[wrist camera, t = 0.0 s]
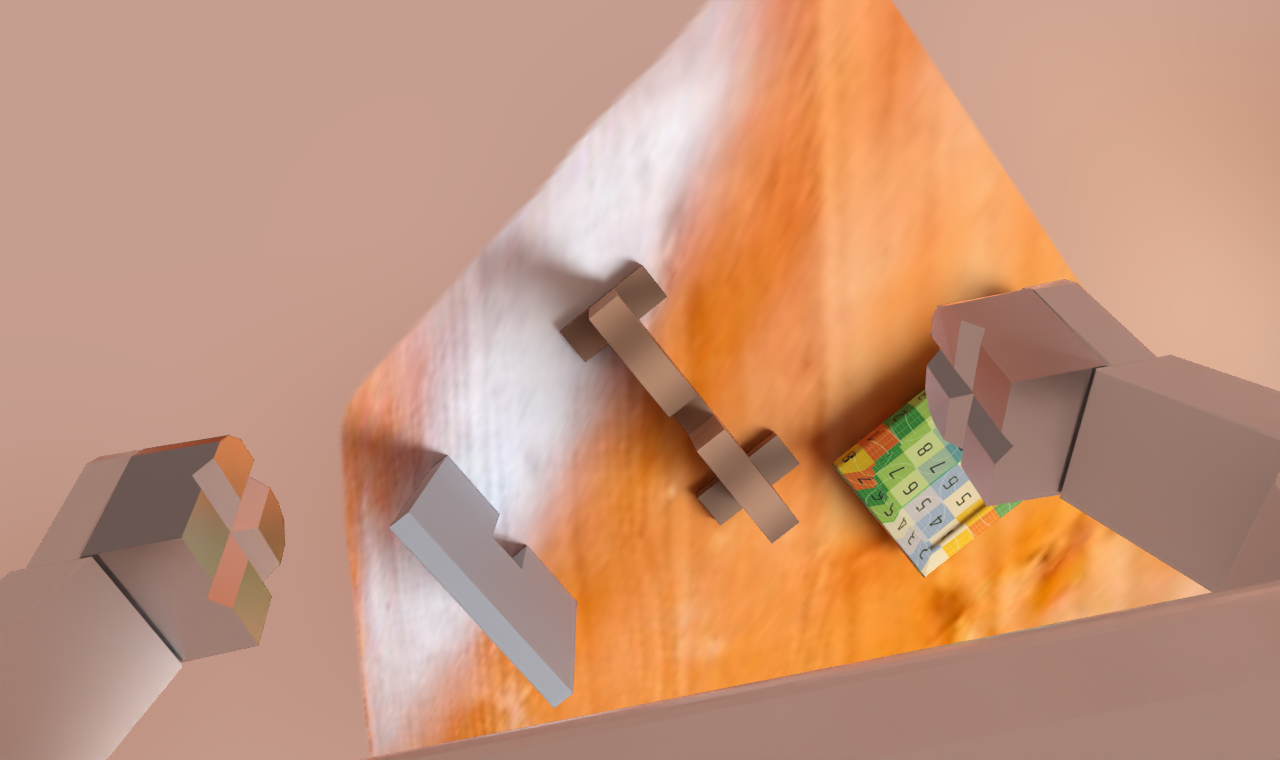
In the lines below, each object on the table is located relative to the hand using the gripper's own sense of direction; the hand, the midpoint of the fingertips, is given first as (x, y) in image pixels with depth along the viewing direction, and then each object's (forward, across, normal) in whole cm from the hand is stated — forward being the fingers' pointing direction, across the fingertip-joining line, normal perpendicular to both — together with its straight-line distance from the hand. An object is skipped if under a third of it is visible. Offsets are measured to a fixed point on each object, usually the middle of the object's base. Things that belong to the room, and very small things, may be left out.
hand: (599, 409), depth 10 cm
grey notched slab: (+38, -11, -43) cm, 59 cm away
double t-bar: (+42, +5, -36) cm, 56 cm away
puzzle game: (+39, +27, -42) cm, 64 cm away
